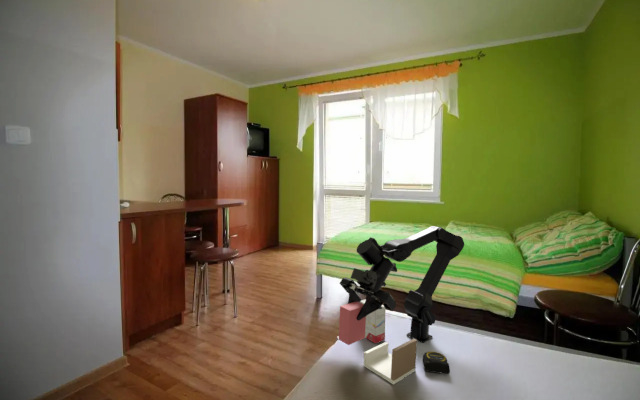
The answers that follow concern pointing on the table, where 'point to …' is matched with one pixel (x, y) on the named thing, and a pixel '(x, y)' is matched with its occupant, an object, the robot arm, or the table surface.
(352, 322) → the book
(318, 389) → the table surface
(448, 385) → the table surface
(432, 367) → the tape measure
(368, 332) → the ink box
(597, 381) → the table surface
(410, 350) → the book rack
